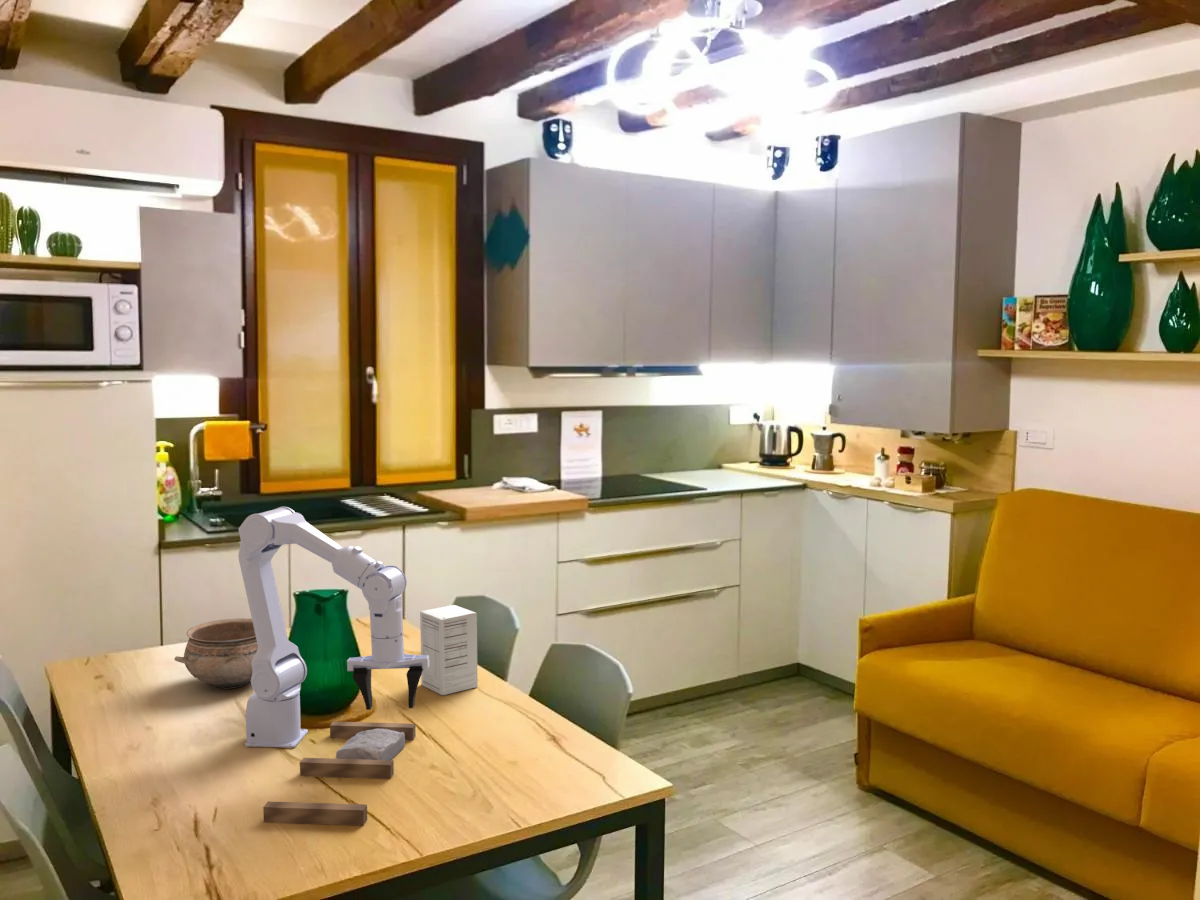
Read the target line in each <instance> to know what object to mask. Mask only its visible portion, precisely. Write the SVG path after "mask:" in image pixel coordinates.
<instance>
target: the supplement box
mask: <svg viewBox="0 0 1200 900" xmlns="http://www.w3.org/2000/svg"><path fill="white" fill-rule="evenodd" d="M419 612H420V613H419V615H420V616H419V620H420V628H419V629H420V655H429V667H428V669H423V672H422V674H421V677H420V680H421V681H420V683H421V686H423V687H425V688H427V689H429V690H431V691H433V692H434V693H437V694H439V695H441V696H447V695H451V694H454V693H459V692H462V691H467V690H470V689H474V688H478V687H479V685H478V684H479V682H478V613H477V612H475V611H473V610H469V609H467V608H464V607H461V606H459V605H456V604H452V605H451V604H450V605H446V606H442V607H441V606H440V607H435V608H431V609H425V610H420V611H419Z"/></svg>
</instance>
